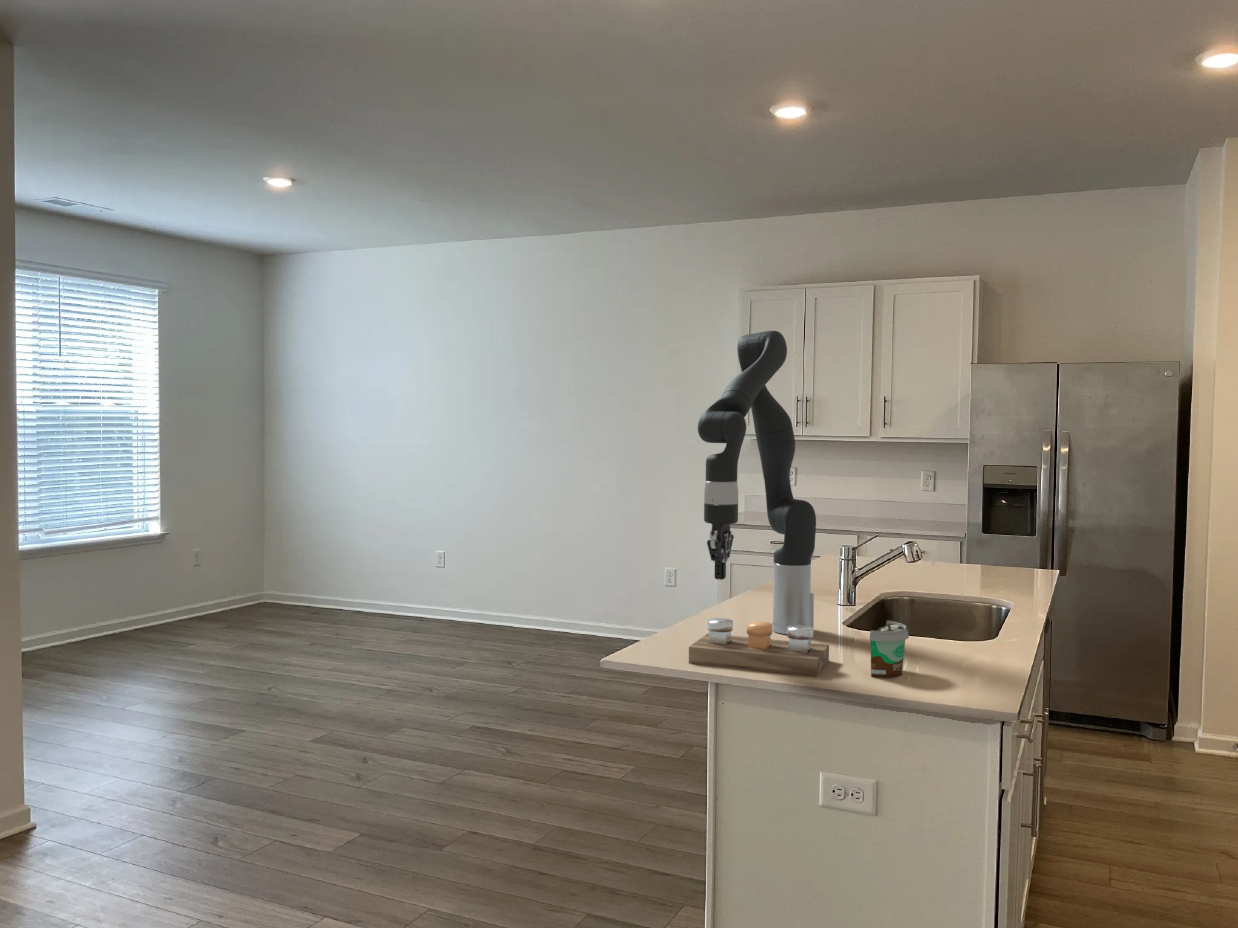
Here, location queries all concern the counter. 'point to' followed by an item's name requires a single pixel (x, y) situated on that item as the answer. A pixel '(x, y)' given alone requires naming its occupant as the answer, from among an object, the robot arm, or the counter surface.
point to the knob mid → (759, 634)
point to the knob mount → (760, 656)
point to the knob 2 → (800, 638)
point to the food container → (888, 650)
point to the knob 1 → (720, 630)
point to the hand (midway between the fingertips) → (720, 578)
